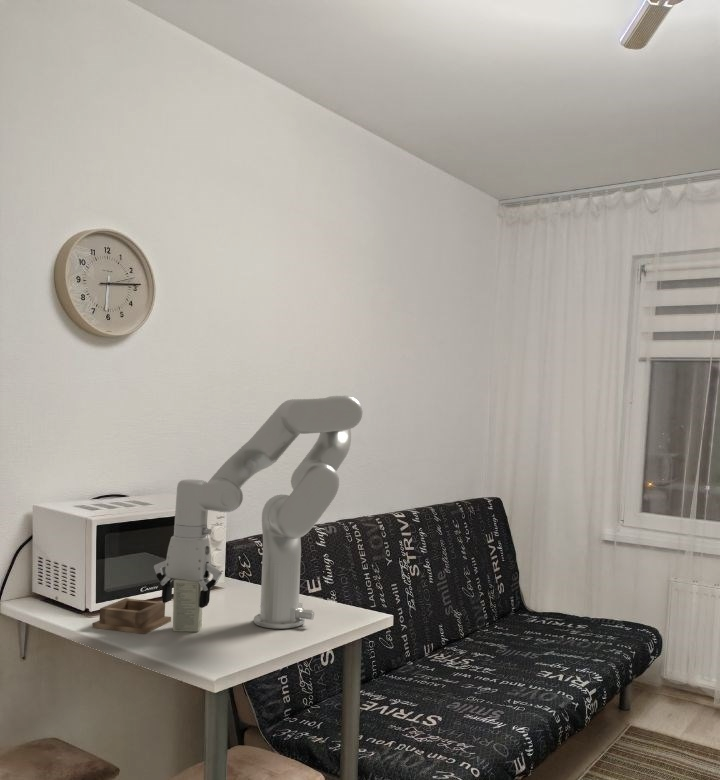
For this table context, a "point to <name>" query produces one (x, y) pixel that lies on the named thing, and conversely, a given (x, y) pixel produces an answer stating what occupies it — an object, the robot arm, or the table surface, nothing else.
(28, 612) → the table surface
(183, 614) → the skincare box
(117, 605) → the socket block
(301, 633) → the table surface
